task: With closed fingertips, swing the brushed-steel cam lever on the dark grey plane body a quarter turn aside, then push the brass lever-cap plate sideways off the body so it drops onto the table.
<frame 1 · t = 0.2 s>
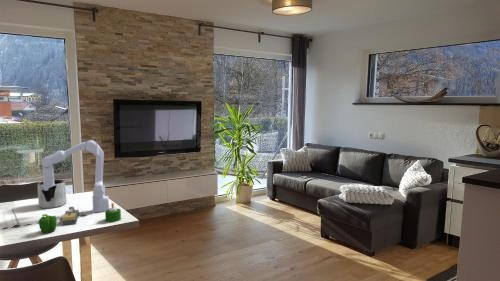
hand: (50, 199, 216), 10 cm above the table, fingers open, 7 cm apart
bell pepper: (48, 232, 191), on the table
candle: (113, 220, 210), on the table
plane body: (70, 219, 211), on the table
planter: (52, 205, 240), on the table
lever cap: (69, 218, 205), point 2 cm above the table, touching plane body
lever: (71, 210, 214), point 4 cm above the table, hinge at 0.0°
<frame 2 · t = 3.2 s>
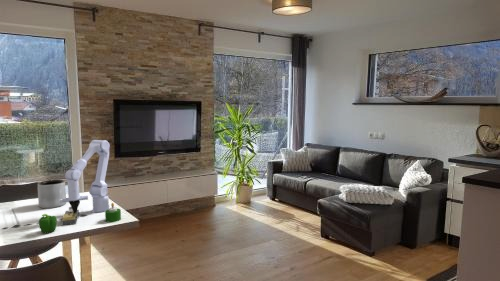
hand: (75, 213, 212), 3 cm above the table, fingers closed, pressing on lever
lever: (71, 210, 214), point 4 cm above the table, hinge at 0.0°, touching gripper
everything else where it was.
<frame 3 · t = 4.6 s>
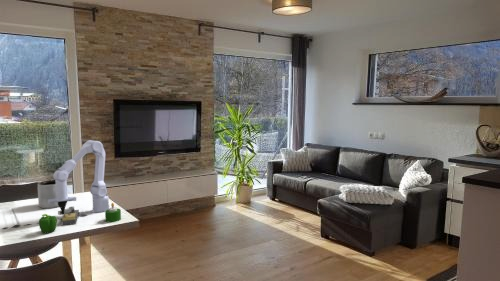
hand: (63, 214, 210), 3 cm above the table, fingers closed, pressing on lever
lever: (66, 210, 214), point 4 cm above the table, hinge at 50.6°, touching gripper
everything else where it was.
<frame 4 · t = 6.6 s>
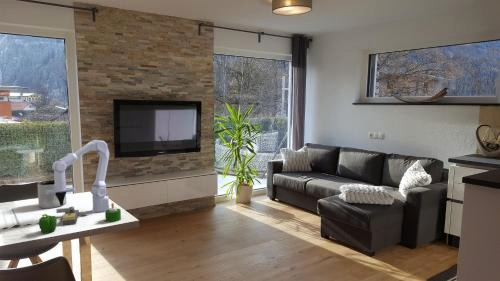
hand: (61, 204, 211), 8 cm above the table, fingers closed
lever: (65, 209, 216), point 4 cm above the table, hinge at 90.6°
everything else where it was.
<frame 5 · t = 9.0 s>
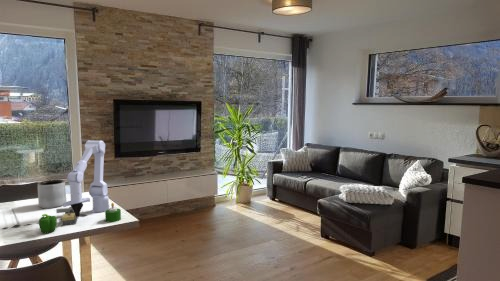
hand: (77, 216, 207), 3 cm above the table, fingers closed
lever cap: (68, 218, 205), point 3 cm above the table, touching gripper
everything else where it was.
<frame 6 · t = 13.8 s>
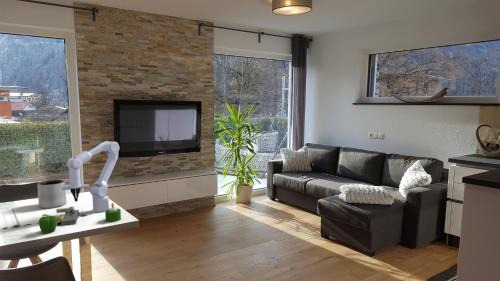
hand: (76, 201, 215), 9 cm above the table, fingers closed
lever cap: (58, 220, 204), point 1 cm above the table, tilted 26°, touching plane body
everything else where it was.
at the end: lever at +91° (first picture: +0°); lever cap inside the target area (4.1 cm from its centre), point 1.4 cm above the table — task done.
